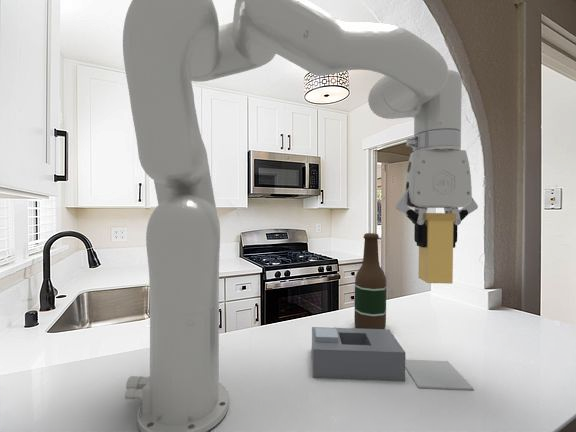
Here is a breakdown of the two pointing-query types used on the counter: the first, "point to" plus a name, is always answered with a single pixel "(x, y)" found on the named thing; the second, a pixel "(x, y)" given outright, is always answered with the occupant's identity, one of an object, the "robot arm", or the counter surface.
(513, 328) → the counter surface
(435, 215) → the plug
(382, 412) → the counter surface
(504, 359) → the counter surface
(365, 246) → the beer bottle
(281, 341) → the counter surface
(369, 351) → the grey block with hole
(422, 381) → the mat
